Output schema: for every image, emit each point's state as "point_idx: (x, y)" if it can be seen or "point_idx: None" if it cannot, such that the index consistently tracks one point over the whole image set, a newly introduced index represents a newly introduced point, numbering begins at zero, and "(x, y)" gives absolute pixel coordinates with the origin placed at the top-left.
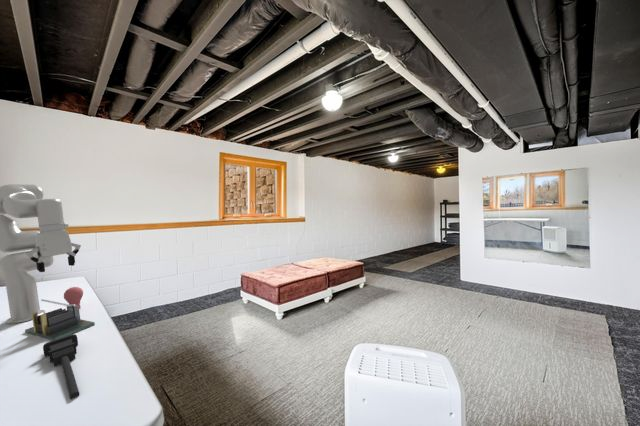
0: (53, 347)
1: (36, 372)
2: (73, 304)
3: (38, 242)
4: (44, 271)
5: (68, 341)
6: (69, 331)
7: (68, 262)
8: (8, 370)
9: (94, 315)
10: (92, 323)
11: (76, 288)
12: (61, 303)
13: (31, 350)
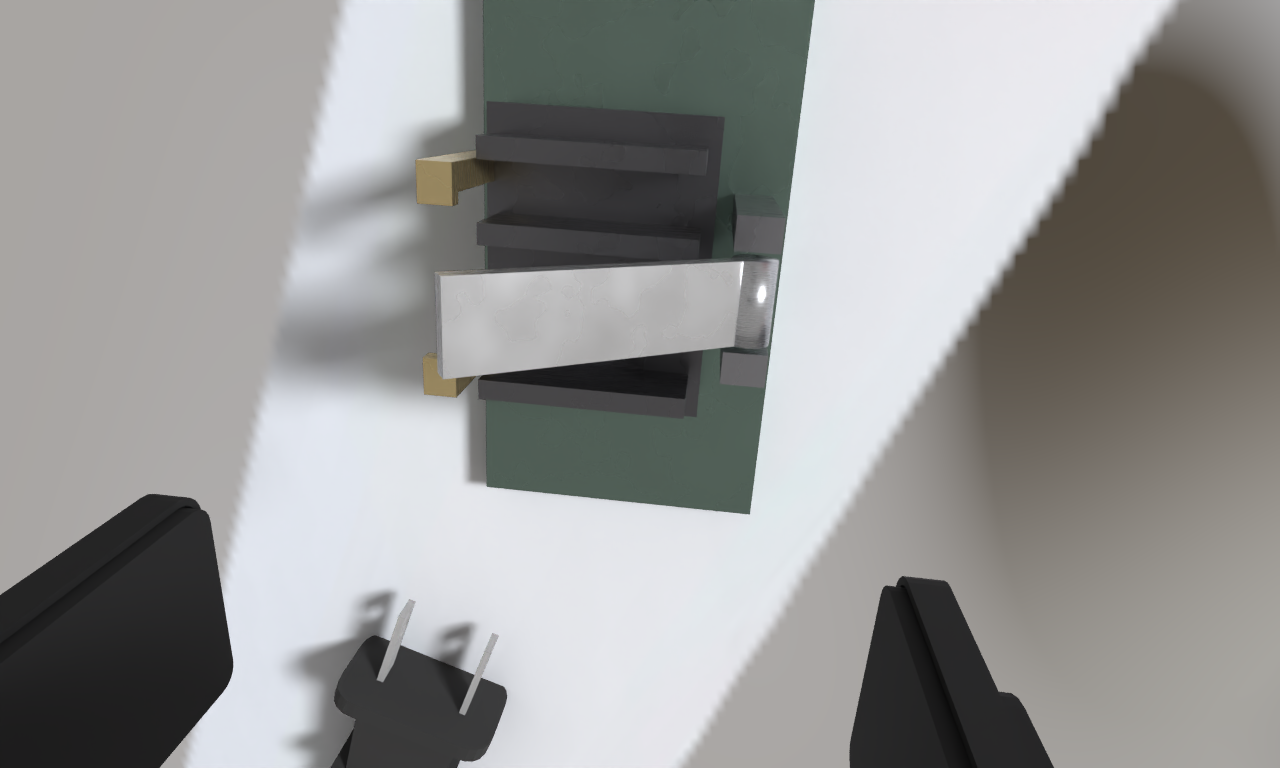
0: (363, 744)
1: (292, 752)
2: (755, 321)
3: None
4: (225, 669)
5: (432, 762)
6: (582, 484)
7: (903, 654)
8: (233, 593)
9: (922, 263)
10: (734, 511)
11: None
12: (621, 358)
13: (370, 458)
